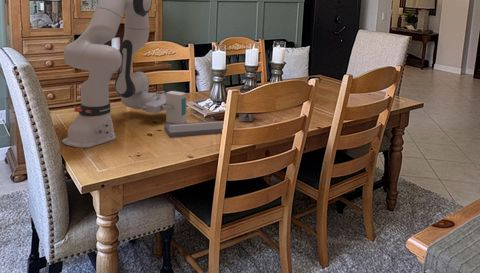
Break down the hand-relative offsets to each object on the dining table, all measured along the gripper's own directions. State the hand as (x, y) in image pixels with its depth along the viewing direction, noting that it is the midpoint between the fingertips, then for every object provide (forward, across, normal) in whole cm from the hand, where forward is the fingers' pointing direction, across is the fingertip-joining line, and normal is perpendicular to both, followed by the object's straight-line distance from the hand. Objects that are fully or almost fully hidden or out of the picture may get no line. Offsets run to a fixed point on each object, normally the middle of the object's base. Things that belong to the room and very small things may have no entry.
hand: (176, 106), depth 231 cm
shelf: (+14, -7, +8) cm, 17 cm away
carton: (0, 0, +8) cm, 8 cm away
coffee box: (+27, +21, +8) cm, 35 cm away
